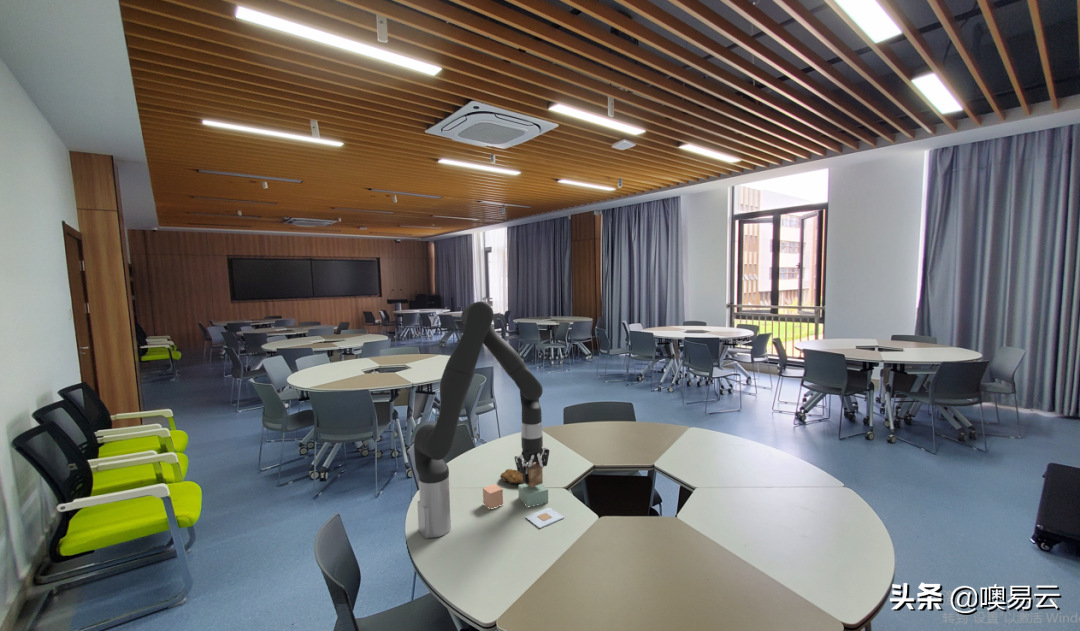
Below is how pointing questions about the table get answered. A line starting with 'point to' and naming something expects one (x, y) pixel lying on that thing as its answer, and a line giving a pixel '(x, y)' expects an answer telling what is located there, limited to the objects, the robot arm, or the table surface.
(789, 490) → the table surface
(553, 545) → the table surface
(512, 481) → the decorative rock
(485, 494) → the terracotta block
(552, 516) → the card
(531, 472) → the walnut block
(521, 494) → the base block
